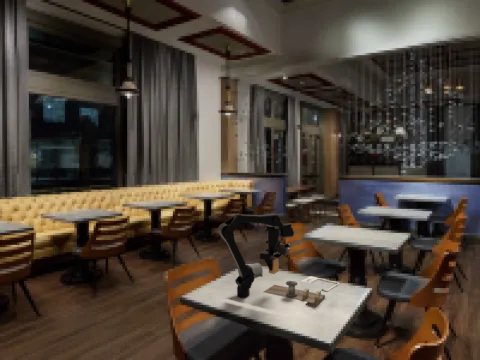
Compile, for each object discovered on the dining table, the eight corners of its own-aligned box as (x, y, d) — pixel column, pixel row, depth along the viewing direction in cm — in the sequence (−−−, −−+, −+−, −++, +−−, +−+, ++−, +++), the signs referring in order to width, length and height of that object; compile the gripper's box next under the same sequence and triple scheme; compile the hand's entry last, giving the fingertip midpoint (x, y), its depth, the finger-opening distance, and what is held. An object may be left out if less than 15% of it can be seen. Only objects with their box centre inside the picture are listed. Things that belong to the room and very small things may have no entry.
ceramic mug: (244, 276, 203) (244, 263, 202) (255, 273, 207) (255, 261, 207) (254, 282, 194) (254, 268, 193) (266, 279, 198) (266, 265, 198)
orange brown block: (278, 271, 176) (278, 257, 176) (274, 274, 172) (273, 260, 172) (273, 270, 178) (273, 256, 177) (268, 273, 174) (268, 259, 173)
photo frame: (310, 275, 200) (339, 282, 188) (310, 277, 200) (339, 284, 188) (296, 282, 189) (327, 290, 177) (297, 284, 189) (327, 292, 177)
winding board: (315, 306, 159) (315, 290, 158) (263, 294, 174) (262, 280, 174) (325, 298, 169) (324, 283, 168) (274, 287, 184) (274, 273, 184)
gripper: (278, 244, 162) (279, 277, 163) (295, 236, 177) (296, 266, 178) (258, 241, 168) (259, 273, 169) (276, 234, 184) (276, 263, 184)
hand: (273, 269), depth 175 cm, fingers closed on orange brown block, 5 cm apart
